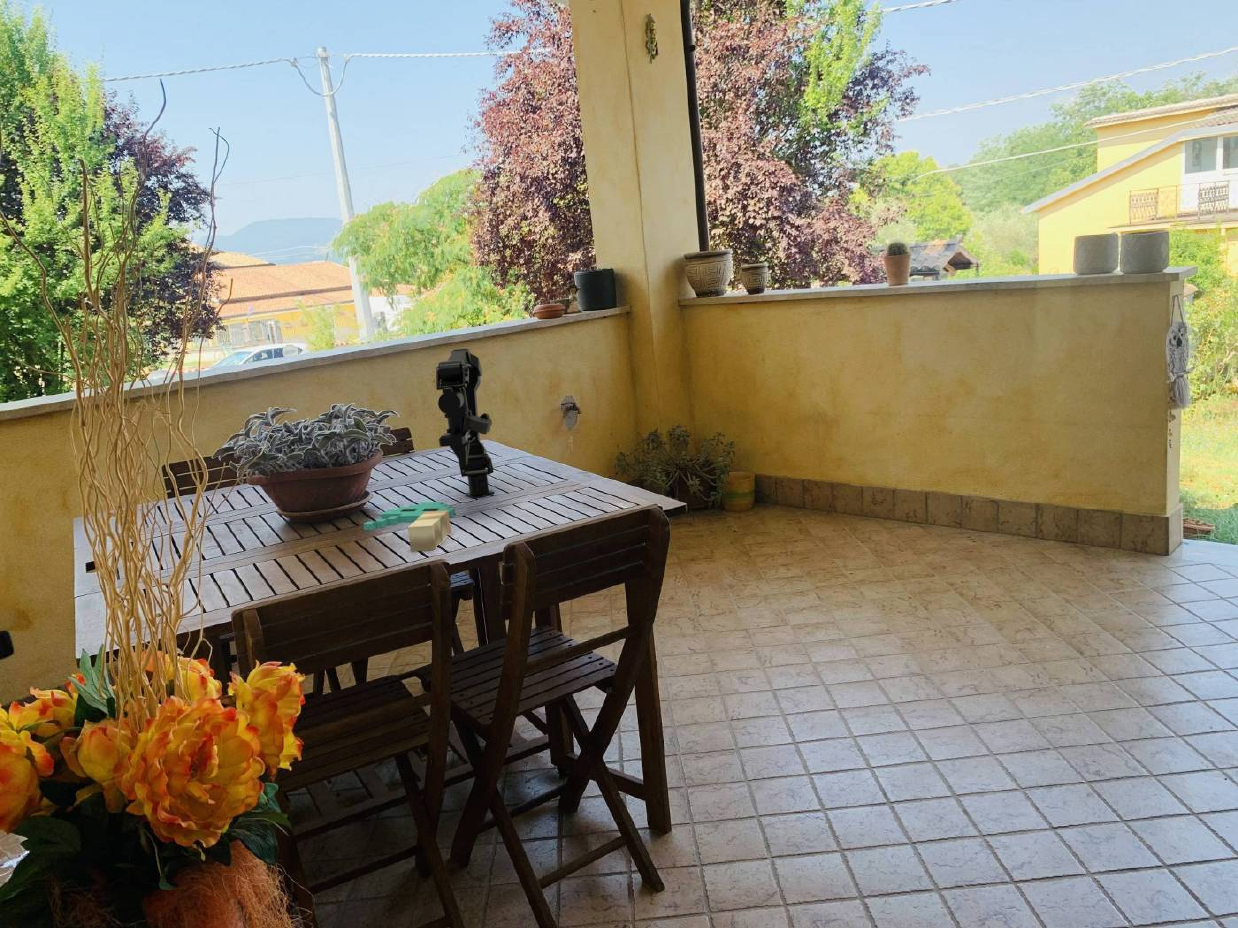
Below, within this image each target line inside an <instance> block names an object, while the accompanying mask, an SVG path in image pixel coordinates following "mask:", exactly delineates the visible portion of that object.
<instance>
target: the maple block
mask: <svg viewBox="0 0 1238 928" xmlns="http://www.w3.org/2000/svg"><path fill="white" fill-rule="evenodd" d="M450 519H451V518H449V513H448V511H432V512H425V513H423V514H422V515H421V516H420V517H419V518H418V519H417V520H415V521H414V522H411V524H409V525H408V526H407V532H408V540H409V545H410V551H411V552H421V551H435V549H436V547H437V546H438V545H439V544H440V543H441V542H442V541H443V540H444V538H445V537H446V536H447V535H449V534H450V533H451V534H452V528H451V526H452V525H451V521H450ZM451 534H450V535H451ZM450 535H449V536H450ZM444 541H445V540H444ZM444 541H443V542H444ZM436 550H437V549H436Z"/></svg>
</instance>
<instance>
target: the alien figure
mask: <svg viewBox="0 0 1238 928" xmlns="http://www.w3.org/2000/svg"><path fill="white" fill-rule="evenodd" d="M432 511H448V513H449V519H451V518H452V517H453V516H452V515H453V514H455V515H456V509H455V508H454V507H453V508H452V505H448V504H447V503H444V501H428V502H426V501H425V502H420V503H417V504H410V505H408V506H400V507H398V508H396V509H387V510H385V511H384V512H382V513H381V514H380V518H378V519H377V520H375V521H366V522H364V523H363V529H364V531H373V530H375V529H379V528H386V527H387V526H396V525H398V524H400V523H413V522H414V521H415V520H417V519H418V518H419V517H420V516H421V515H422V514H423V513H425V512H432ZM451 516H452V517H451ZM450 517H451V518H450Z"/></svg>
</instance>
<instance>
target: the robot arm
mask: <svg viewBox="0 0 1238 928" xmlns="http://www.w3.org/2000/svg"><path fill="white" fill-rule="evenodd" d="M435 368H436V369H435V376H436V377H435V381H436V383H435V384H436V385H435V387H436V391H438V390H439V391H441V390H442V394H441V395H440V396H439V398H438V401H437V406H438V408H439V410H440V411H441V412H442V413H444V419H446V420H447V425H448V426H447V427H448V428H446V433H443V434H442V435H441V436H440V437H439V439H438V443H439V447H441V448H442V447H449V448H450V449H451V451H452V452H453V453H454V456H455V457H457V459H458V466H459V470H460V471H459V472H460V475H461V478H464V477H466V478H467V483H468V490H469V492H466V493H464V495H465V496H467V497H470V498H473V499H478V498H481V497H485V496H489V495H494V494H495V491H493V490H490V488H489V487H490V486H489V480H488V479H489V478H488V475H491V474H493V473H494V472H495V471H494V465H493V461H492V458H491V457H490V455H489V453H487V448H486V447H485V446H484V445H483V443H482V441H481V435H487V434H488V433H490V431H491V430H490V429H491V426H492V425H493V422H492V419H491V417H490V414H489V413H486V412H484V413H482V414H481V415H480V416H479V411H478V401H477V391H478V389H479V388H480V385H481V383H482V382H481V377H482V376H483V369H482V365H481V361H480V359H479V357H477V356H476V355H474V354H473V353H471V350H470V349H469V348H457V349H453V350H451V353H450V356H449V358H448V359H447V360H443V361H439V362H438V364H437V366H436V367H435ZM480 434H481V435H480Z"/></svg>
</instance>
